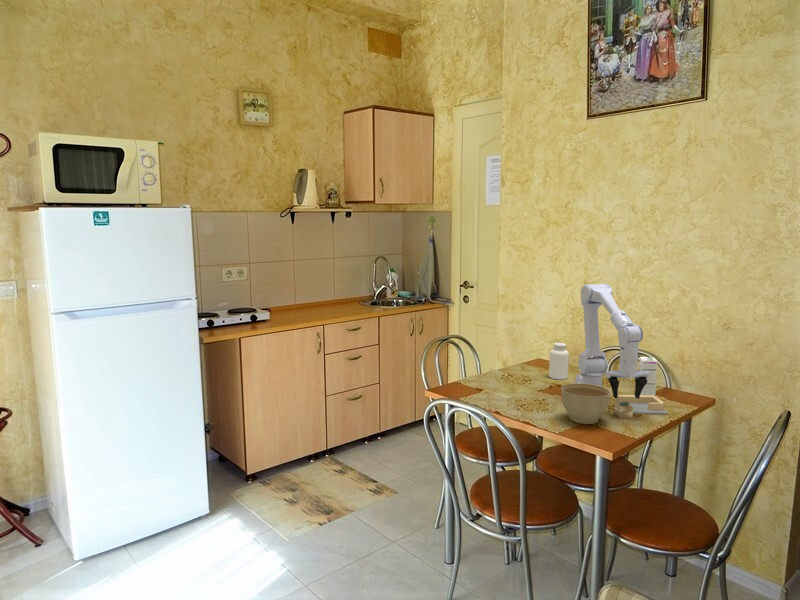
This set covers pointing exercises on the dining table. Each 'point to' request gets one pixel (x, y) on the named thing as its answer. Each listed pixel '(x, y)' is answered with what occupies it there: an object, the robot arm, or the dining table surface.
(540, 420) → the dining table surface
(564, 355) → the pill bottle
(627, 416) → the cabinet block
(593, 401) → the planter bowl
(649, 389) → the syrup box
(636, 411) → the wall board
